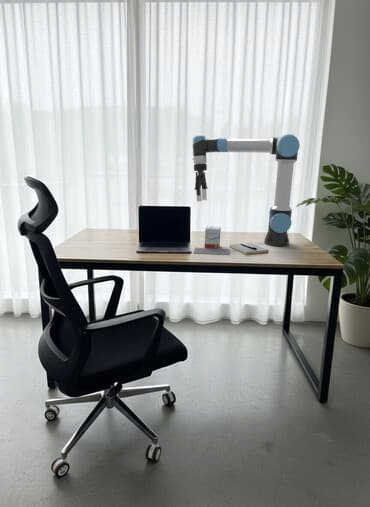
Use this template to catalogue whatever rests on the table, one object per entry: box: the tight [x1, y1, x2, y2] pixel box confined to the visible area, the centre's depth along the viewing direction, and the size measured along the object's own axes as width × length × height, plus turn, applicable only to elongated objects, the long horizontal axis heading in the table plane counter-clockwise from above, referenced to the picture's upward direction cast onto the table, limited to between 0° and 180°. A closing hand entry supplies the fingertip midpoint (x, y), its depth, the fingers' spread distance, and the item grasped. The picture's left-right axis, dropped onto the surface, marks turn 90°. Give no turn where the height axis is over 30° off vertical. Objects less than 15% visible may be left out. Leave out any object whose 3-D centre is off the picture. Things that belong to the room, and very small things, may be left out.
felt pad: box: [193, 247, 231, 256], centre depth 210 cm, size 20×12×1 cm, turn 84°
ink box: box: [203, 226, 222, 249], centre depth 219 cm, size 9×9×12 cm
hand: (201, 200), depth 217 cm, fingers open, 13 cm apart
